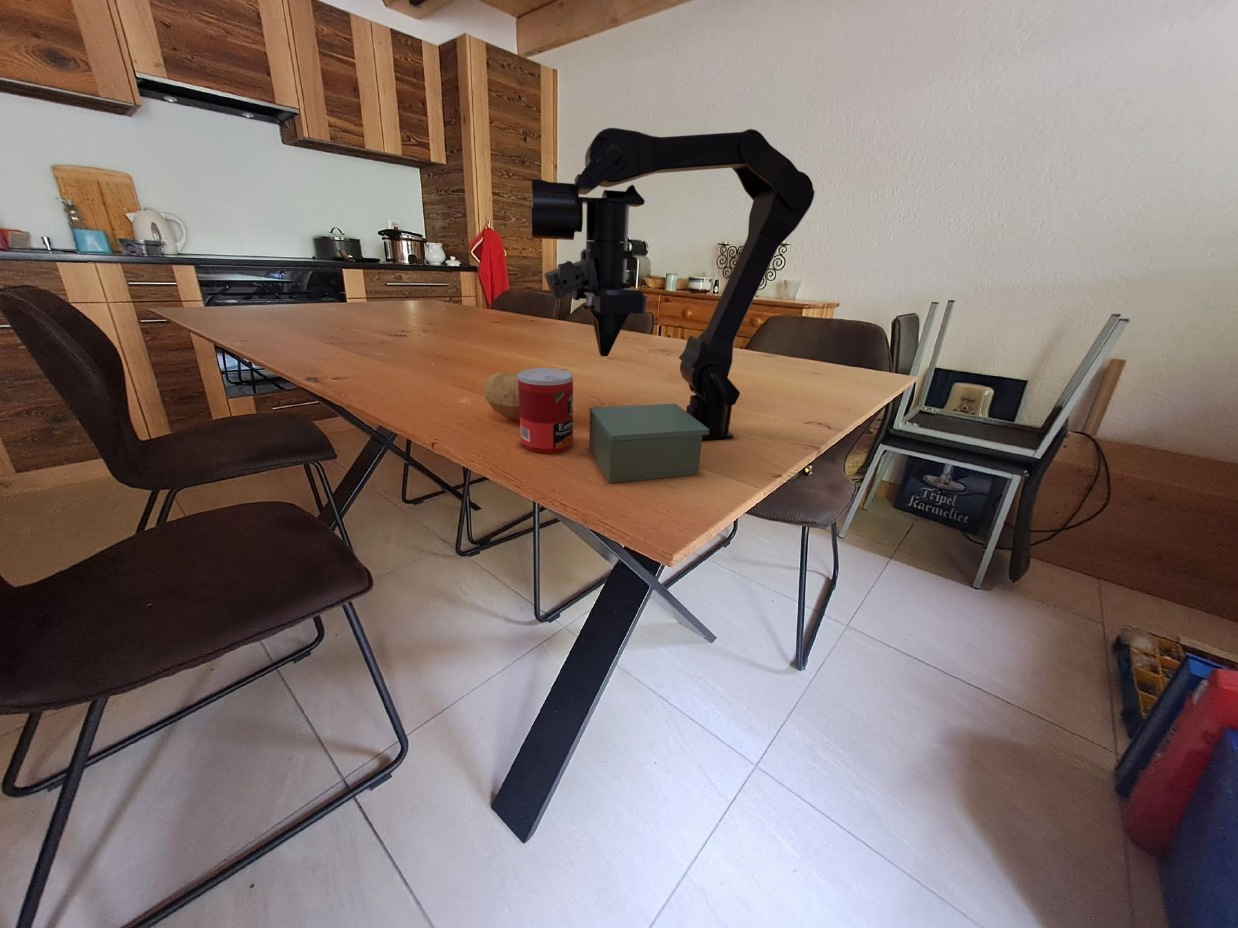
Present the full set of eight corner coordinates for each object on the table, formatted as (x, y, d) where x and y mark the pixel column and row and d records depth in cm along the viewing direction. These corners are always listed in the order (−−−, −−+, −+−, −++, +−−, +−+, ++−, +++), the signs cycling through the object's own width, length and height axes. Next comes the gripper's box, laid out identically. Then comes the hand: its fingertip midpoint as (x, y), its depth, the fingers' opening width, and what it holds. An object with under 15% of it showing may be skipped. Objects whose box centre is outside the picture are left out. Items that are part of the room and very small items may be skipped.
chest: (666, 443, 75) (669, 408, 72) (697, 474, 65) (702, 435, 62) (589, 449, 71) (589, 413, 69) (609, 483, 61) (611, 442, 59)
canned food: (564, 457, 68) (563, 382, 64) (512, 450, 70) (508, 377, 65) (579, 438, 75) (579, 370, 71) (531, 433, 76) (529, 366, 72)
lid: (674, 408, 73) (675, 403, 72) (708, 435, 62) (709, 429, 62) (589, 412, 69) (589, 407, 68) (611, 441, 59) (611, 435, 58)
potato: (555, 433, 77) (554, 385, 73) (475, 424, 79) (471, 377, 76) (573, 415, 85) (573, 372, 82) (500, 407, 88) (498, 365, 85)
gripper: (538, 239, 71) (541, 345, 77) (560, 238, 54) (562, 372, 61) (610, 243, 74) (607, 344, 80) (651, 243, 58) (643, 369, 64)
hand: (603, 355), depth 71 cm, fingers closed
